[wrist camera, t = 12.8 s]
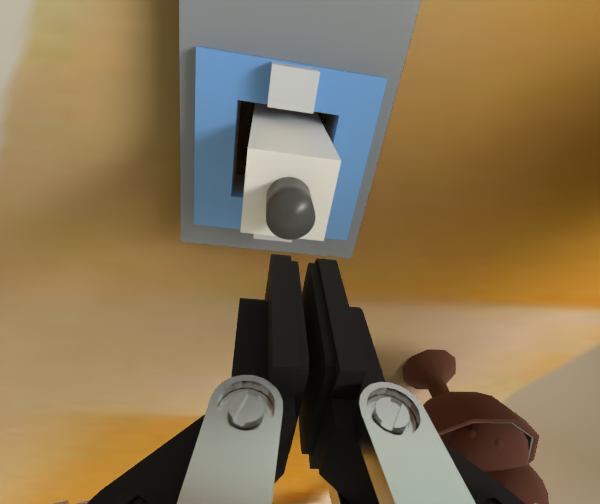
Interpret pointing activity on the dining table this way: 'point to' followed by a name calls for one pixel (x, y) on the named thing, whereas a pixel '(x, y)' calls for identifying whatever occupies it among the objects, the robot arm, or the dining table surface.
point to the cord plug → (288, 175)
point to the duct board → (295, 40)
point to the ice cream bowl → (478, 427)
